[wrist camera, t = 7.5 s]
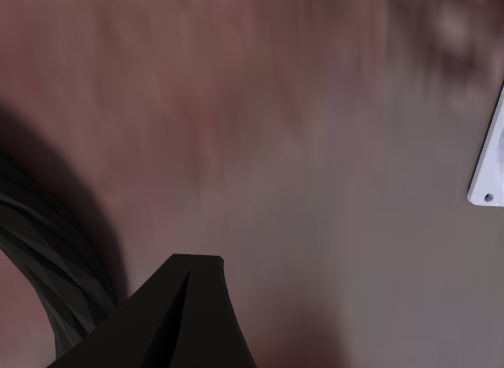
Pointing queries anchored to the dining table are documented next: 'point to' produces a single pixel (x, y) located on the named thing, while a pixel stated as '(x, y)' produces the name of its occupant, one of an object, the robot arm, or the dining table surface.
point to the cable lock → (53, 257)
